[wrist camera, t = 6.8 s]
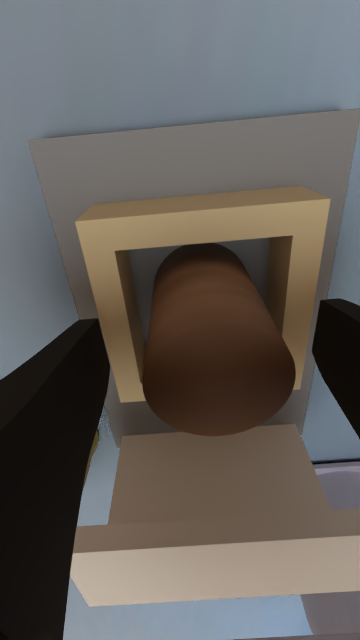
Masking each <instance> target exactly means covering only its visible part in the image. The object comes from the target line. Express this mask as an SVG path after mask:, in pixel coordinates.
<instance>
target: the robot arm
mask: <svg viewBox="0 0 360 640" xmlns="http://www.w3.org/2000/svg"><path fill="white" fill-rule="evenodd" d="M312 354H313V356H314V359H315V361H316V364H317V366H318V369H319V371H320V373H321V375H322V377H323V379H324V381H325V383H326V384H327V386H328V388H329V389H330V391H331V393H332V394H333V396H334V398H335V399H336V401H337V402H338V404H339V406H340V407H341V409H342V411H343V412H344V414H345V416H346V417H347V419H348V420H349V422H350V424H351V425H352V427H353V429H354V430H355V432H356V433H357V435H358V437H359V439H360V306H359V305H356V304H354V303H351V302H349V301H346V300H343V299H327V300H320V304H319V310H318V316H317V322H316V327H315V333H314V339H313V345H312ZM109 375H110V363H109V359H108V355H107V351H106V347H105V343H104V339H103V335H102V331H101V327H100V323H99V319H98V318H93V319H81V320H78V321H77V322H76V323H74V324H73V325H72V326H70V327H69V328H68V329H66V330H65V331H64V332H63V333H62V334H60V335H59V336H58V337H57V338H55V339H54V340H53V341H52V342H51V343H49V344H48V345H47V346H46V347H44V348H43V349H42V350H41V351H39V352H38V353H37V354H36V355H34V356H33V357H32V358H30V359H29V360H28V361H26V362H25V363H24V364H22V365H21V366H20V367H18V368H17V369H15V370H14V371H13V372H11V373H10V374H9V375H7V376H6V377H4V378H3V379H1V380H0V640H63V631H64V622H65V613H66V604H67V595H68V586H69V578H70V570H71V563H72V555H73V548H74V541H75V534H76V527H77V521H78V514H79V508H80V501H81V496H82V490H83V484H84V479H85V473H86V468H87V464H88V459H89V455H90V452H91V448H92V445H93V441H94V438H95V434H96V431H97V427H98V424H99V420H100V417H101V413H102V410H103V406H104V402H105V399H106V395H107V390H108V383H109ZM313 467H314V469H315V472H316V474H317V476H318V479H319V481H320V484H321V486H322V488H323V491H324V493H325V496H326V498H327V500H328V503H329V505H330V507H331V510H343V509H358V508H360V461H358V462H344V463H329V464H315V465H313ZM300 595H301V599H302V602H303V606H304V610H305V613H306V617H307V620H308V623H309V626H310V629H311V631H312V633H313V635H307V636H289V637H271V638H253V639H235V640H360V591H348V592H331V593H314V594H300Z"/></svg>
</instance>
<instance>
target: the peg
mask: <svg viewBox="0 0 360 640" xmlns="http://www.w3.org/2000/svg"><path fill="white" fill-rule="evenodd" d="M295 379H296V369H295V363H294V360H293V357H292V355H291V353H290V351H289V349H288V347H287V345H286V343H285V341H284V340H283V338H282V336H281V334H280V332H279V330H278V328H277V326H276V325H275V323H274V321H273V319H272V317H271V315H270V313H269V311H268V310H267V308H266V306H265V304H264V302H263V300H262V298H261V297H260V295H259V293H258V291H257V289H256V287H255V285H254V283H253V282H252V280H251V278H250V276H249V274H248V272H247V270H246V268H245V267H244V265H243V263H242V261H241V260H240V259H239V257H238V256H237V255H236V254H235V253H234V252H232V251H231V250H230V249H228V248H226V247H225V246H222V245H220V244H217V243H212V242H211V243H199V244H188V245H184V246H181V247H179V248H177V249H176V250H174V251H173V252H171V253H170V254H169V255H168V256H167V257H166V258H165V259H164V260H163V262H162V263H161V264H160V266H159V268H158V270H157V273H156V276H155V280H154V288H153V296H152V304H151V313H150V321H149V329H148V337H147V345H146V353H145V361H144V369H143V379H142V387H143V393H144V397H145V399H146V402H147V404H148V405H149V407H150V408H151V410H152V411H153V412H154V413H155V415H156V416H157V417H159V418H160V419H161V420H162V421H163V422H165V423H166V424H168V425H170V426H171V427H174V428H176V429H178V430H180V431H183V432H186V433H190V434H195V435H201V436H224V435H231V434H236V433H240V432H243V431H246V430H249V429H252V428H254V427H256V426H258V425H260V424H262V423H264V422H265V421H267V420H268V419H270V418H271V417H272V416H273V415H275V414H276V413H277V412H278V411H279V410H280V409H281V408H282V407H283V405H284V404H285V403H286V402H287V400H288V398H289V397H290V395H291V393H292V390H293V388H294V384H295Z"/></svg>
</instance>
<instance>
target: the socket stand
mask: <svg viewBox="0 0 360 640" xmlns="http://www.w3.org/2000/svg"><path fill="white" fill-rule="evenodd" d="M359 120H360V108H357V109H347V110H337V111H326V112H316V113H305V114H295V115H285V116H274V117H264V118H253V119H243V120H233V121H222V122H212V123H201V124H191V125H181V126H170V127H160V128H149V129H139V130H129V131H118V132H108V133H97V134H87V135H77V136H66V137H56V138H45V139H35V140H28V143H29V147H30V150H31V154H32V157H33V161H34V164H35V167H36V171H37V174H38V178H39V181H40V185H41V188H42V191H43V195H44V198H45V202H46V205H47V209H48V212H49V216H50V219H51V222H52V226H53V229H54V233H55V236H56V240H57V243H58V246H59V250H60V253H61V257H62V260H63V264H64V267H65V271H66V274H67V277H68V281H69V284H70V288H71V291H72V295H73V298H74V301H75V305H76V308H77V312H78V315H79V319H80V320H81V319H93V318H98V319H99V323H100V327H101V331H102V335H103V339H104V343H105V347H106V351H107V355H108V359H109V363H110V375H109V383H108V390H107V395H106V399H105V402H104V405H105V408H106V412H107V415H108V418H109V422H110V425H111V429H112V432H113V436H114V439H115V442H116V446H117V448H119V447H120V453H119V459H118V466H117V472H116V478H115V484H114V490H113V496H112V502H111V508H110V514H109V520H108V525H96V526H81V527H76V534H75V541H74V548H73V555H72V563H71V570H70V576H71V578H72V580H73V581H74V583H75V584H76V586H77V588H78V589H79V591H80V592H81V594H82V596H83V597H84V599H85V601H86V602H87V604H88V605H89V607H91V606H108V605H126V604H143V603H160V602H177V601H194V600H211V599H228V598H245V597H263V596H280V595H297V594H314V593H331V592H348V591H360V508H358V509H343V510H331V507H330V505H329V503H328V500H327V498H326V496H325V493H324V491H323V488H322V486H321V484H320V481H319V479H318V476H317V474H316V472H315V469H314V467H313V465H312V462H311V460H310V457H309V455H308V453H307V450H306V448H305V445H304V443H303V441H302V438H301V436H300V435H302V432H303V426H304V421H305V415H306V410H307V404H308V399H309V394H310V388H311V383H312V377H313V372H314V366H315V359H314V356H313V354H312V345H313V339H314V333H315V327H316V322H317V316H318V310H319V304H320V300H327V295H328V290H329V284H330V279H331V273H332V268H333V262H334V257H335V251H336V246H337V240H338V235H339V229H340V224H341V218H342V213H343V207H344V202H345V197H346V191H347V186H348V180H349V175H350V169H351V164H352V158H353V153H354V147H355V142H356V136H357V131H358V125H359ZM211 242H212V243H217V244H220V245H222V246H225V247H226V248H228V249H230V250H231V251H232V252H234V253H235V254H236V255H237V256H238V257H239V259H240V260H241V261H242V263H243V265H244V267H245V268H246V270H247V272H248V274H249V276H250V278H251V280H252V282H253V283H254V285H255V287H256V289H257V291H258V293H259V295H260V297H261V298H262V300H263V302H264V304H265V306H266V308H267V310H268V311H269V313H270V315H271V317H272V319H273V321H274V323H275V325H276V326H277V328H278V330H279V332H280V334H281V336H282V338H283V340H284V341H285V343H286V345H287V347H288V349H289V351H290V353H291V355H292V357H293V360H294V363H295V369H296V379H295V384H294V388H293V390H292V393H291V395H290V397H289V398H288V400H287V402H286V403H285V404H284V405H283V407H282V408H281V409H280V410H279V411H278V412H277V413H276V414H275V415H273V416H272V417H271V418H270V419H268V420H267V421H265V422H264V423H262V424H260V425H258V426H256V427H254V428H252V429H249V430H246V431H243V432H240V433H236V434H231V435H224V436H201V435H195V434H190V433H186V432H183V431H180V430H178V429H176V428H174V427H171V426H170V425H168V424H166V423H165V422H163V421H162V420H161V419H160V418H159V417H157V416H156V415H155V413H154V412H153V411H152V410H151V408H150V407H149V405H148V404H147V402H146V399H145V397H144V393H143V387H142V379H143V369H144V361H145V353H146V345H147V337H148V329H149V321H150V313H151V304H152V296H153V288H154V280H155V276H156V273H157V270H158V268H159V266H160V264H161V263H162V262H163V260H164V259H165V258H166V257H167V256H168V255H169V254H170V253H171V252H173V251H174V250H176V249H177V248H179V247H181V246H184V245H188V244H199V243H211Z"/></svg>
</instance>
